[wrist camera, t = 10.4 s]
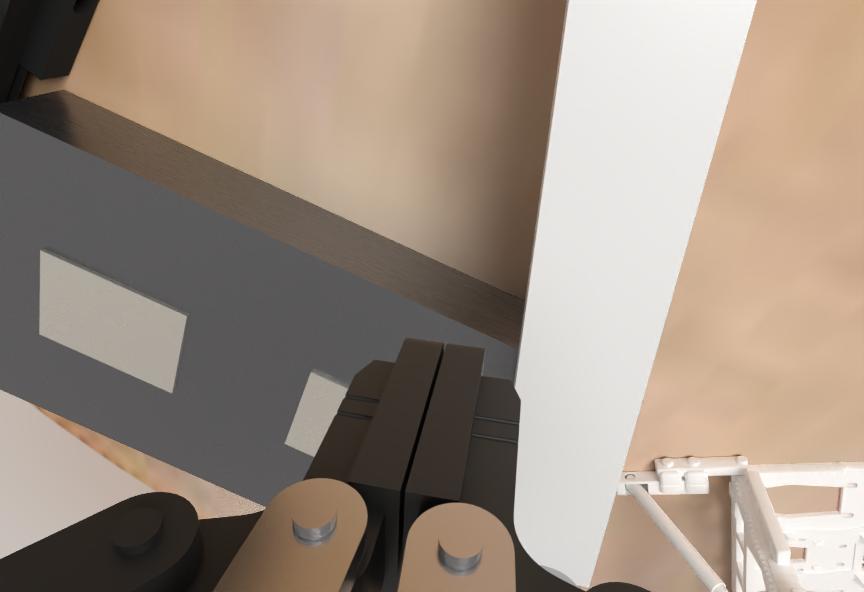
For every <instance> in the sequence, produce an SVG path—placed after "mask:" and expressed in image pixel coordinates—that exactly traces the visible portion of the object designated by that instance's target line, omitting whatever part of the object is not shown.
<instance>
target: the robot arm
mask: <svg viewBox="0 0 864 592" xmlns="http://www.w3.org/2000/svg"><path fill="white" fill-rule="evenodd" d="M485 352H486V349H484V348H477V347H470V346H464V345H457V344H450V343H447V345H446V348H445V343H442V342H435V341H428V340H421V339H414V338H407V337H406V338H405V340H404V342H403V345H402V347H401V350H400V352H399V354H398V357H397V359H396V362H395V363H393V362H387V361H380V360H373V361H372V362H371V363H369V364H368V365H367V366H366V367H364V368H363V369H362V370H360V371H359V372H358V373H357V374H355V376H354V378H353V380H352V382H351V384H350V386H349V388H348V390H347V392H346V394H345V398H343V400H342V402H341V404H340V406H339V408H338V410H337V415H335V416H334V418H333V420H332V422H331V424H330V426H329V429H328V431H327V433H326V435H325V437H324V439H323V441H322V443H321V445H320V447H319V449H318V451H317V453H316V455H315V457H314V459H313V461H312V463H311V465H310V467H309V469H308V471H307V473H306V475H305V477H304V479H303V480H302V481H301V482H298V483H295V484H293V485H291V486H289V487H287V488H285V489H284V490H283V491H281V492H280V493H279V494H277V495H276V496H275V497H274V498H273V499H272V501H271V502H270V503H269V504H268V506H267V507H266V509H265V510H263V511H260V512H256V513H253V514H247V515H241V516H231V517H221V518H211V519H201V520H198V516H197V512H196V510H195V508H194V507H193V505H192V504H191V503H190V502H189V501H188V500H186V499H185V498H183V497H181V496H179V495H177V494H172V493H166V492H152V493H146V494H141V495H137V496H134V497H131V498H129V499H126V500H124V501H121V502H119V503H117V504H115V505H113V506H111V507H109V508H107V509H105V510H103V511H100V512H98V513H96V514H94V515H92V516H90V517H88V518H86V519H84V520H82V521H79V522H78V523H75V524H73V525H71V526H69V527H67V528H65V529H63V530H61V531H58V532H56V533H54V534H52V535H50V536H48V537H46V538H44V539H42V540H40V541H38V542H35V543H33V544H31V545H29V546H27V547H25V548H23V549H21V550H19V551H16V552H14V553H12V554H10V555H8V556H6V557H4V558H2V559H0V592H585V591H583V590H581V589H579V588H577V587H576V586H574V585H572V584H570V583H568V582H566V581H564V580H562V579H560V578H558V577H556V576H555V575H553V574H551V573H550V572H548V571H546V570H545V569H544V568H542V567H541V566H540V565H538V564H537V563H536V562H535V561H534V560H533V559H532V558H531V557H530V556H529V554H528V553H527V552H526V551H525V549H524V548H523V546H522V544H521V543H520V541H519V539H518V536H517V534H516V531H515V526H514V503H515V487H516V471H517V456H518V440H519V423H520V409H521V399H520V397H519V395H518V394H517V392H516V390H515V388H514V386H513V384H512V382H511V380H507V379H500V378H493V377H487V376H483V369H484V361H485ZM586 592H650V591H648V590H646V589H644V588H641V587H639V586H636V585H632V584H629V583H622V582H608V583H603V584H599V585H597V586H594V587H592V588H591V589H589V590H588V591H586Z"/></svg>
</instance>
